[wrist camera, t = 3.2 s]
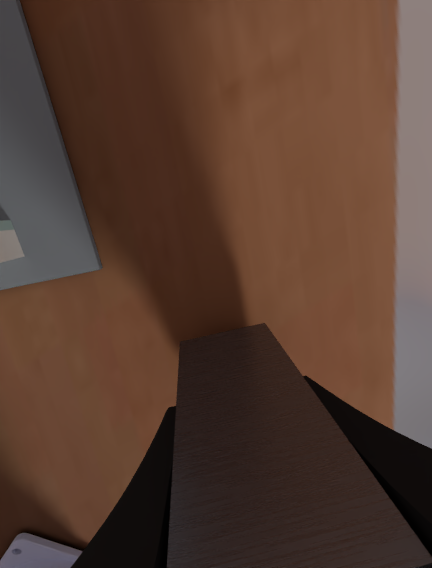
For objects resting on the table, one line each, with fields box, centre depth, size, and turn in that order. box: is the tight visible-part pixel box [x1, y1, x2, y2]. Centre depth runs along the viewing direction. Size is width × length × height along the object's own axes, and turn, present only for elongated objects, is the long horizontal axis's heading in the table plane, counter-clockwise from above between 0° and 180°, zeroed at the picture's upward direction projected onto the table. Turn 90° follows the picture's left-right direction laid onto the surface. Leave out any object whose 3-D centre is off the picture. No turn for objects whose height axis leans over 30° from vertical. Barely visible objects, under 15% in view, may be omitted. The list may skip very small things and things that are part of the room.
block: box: [167, 323, 432, 568], centre depth 9 cm, size 4×4×9 cm
